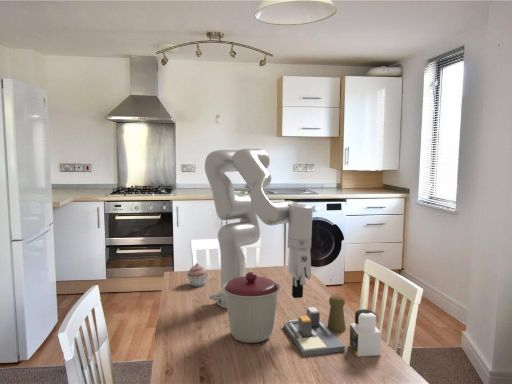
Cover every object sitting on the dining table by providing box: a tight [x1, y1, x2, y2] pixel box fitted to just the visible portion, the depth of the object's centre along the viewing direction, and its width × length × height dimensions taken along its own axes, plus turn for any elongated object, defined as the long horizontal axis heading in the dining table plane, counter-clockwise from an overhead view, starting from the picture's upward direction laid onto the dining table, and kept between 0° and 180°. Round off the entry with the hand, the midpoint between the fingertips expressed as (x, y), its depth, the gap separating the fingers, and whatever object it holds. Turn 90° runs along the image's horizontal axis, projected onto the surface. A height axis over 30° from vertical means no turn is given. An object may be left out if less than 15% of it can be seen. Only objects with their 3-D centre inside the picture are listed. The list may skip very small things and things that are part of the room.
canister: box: [223, 271, 281, 344], centre depth 129 cm, size 18×18×21 cm
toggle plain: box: [306, 306, 321, 327], centre depth 135 cm, size 3×4×5 cm
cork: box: [326, 294, 346, 333], centre depth 135 cm, size 6×6×11 cm
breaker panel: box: [283, 319, 346, 357], centre depth 129 cm, size 13×20×2 cm, turn 13°
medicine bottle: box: [349, 308, 382, 358], centre depth 120 cm, size 7×7×12 cm
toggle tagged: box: [297, 315, 312, 337], centre depth 128 cm, size 3×4×5 cm
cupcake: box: [186, 262, 208, 288], centre depth 179 cm, size 9×9×10 cm
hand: (297, 296), depth 133 cm, fingers closed
